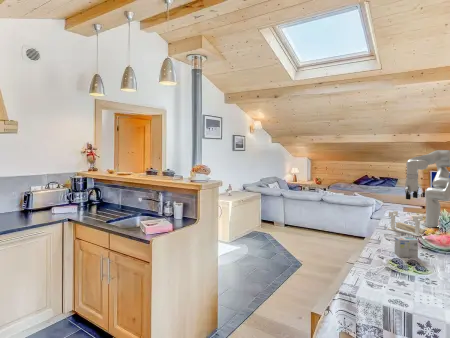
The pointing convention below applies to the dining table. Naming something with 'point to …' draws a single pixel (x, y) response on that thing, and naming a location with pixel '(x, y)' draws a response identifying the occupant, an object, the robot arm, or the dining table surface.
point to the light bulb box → (406, 247)
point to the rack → (417, 229)
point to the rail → (408, 227)
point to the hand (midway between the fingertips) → (411, 198)
